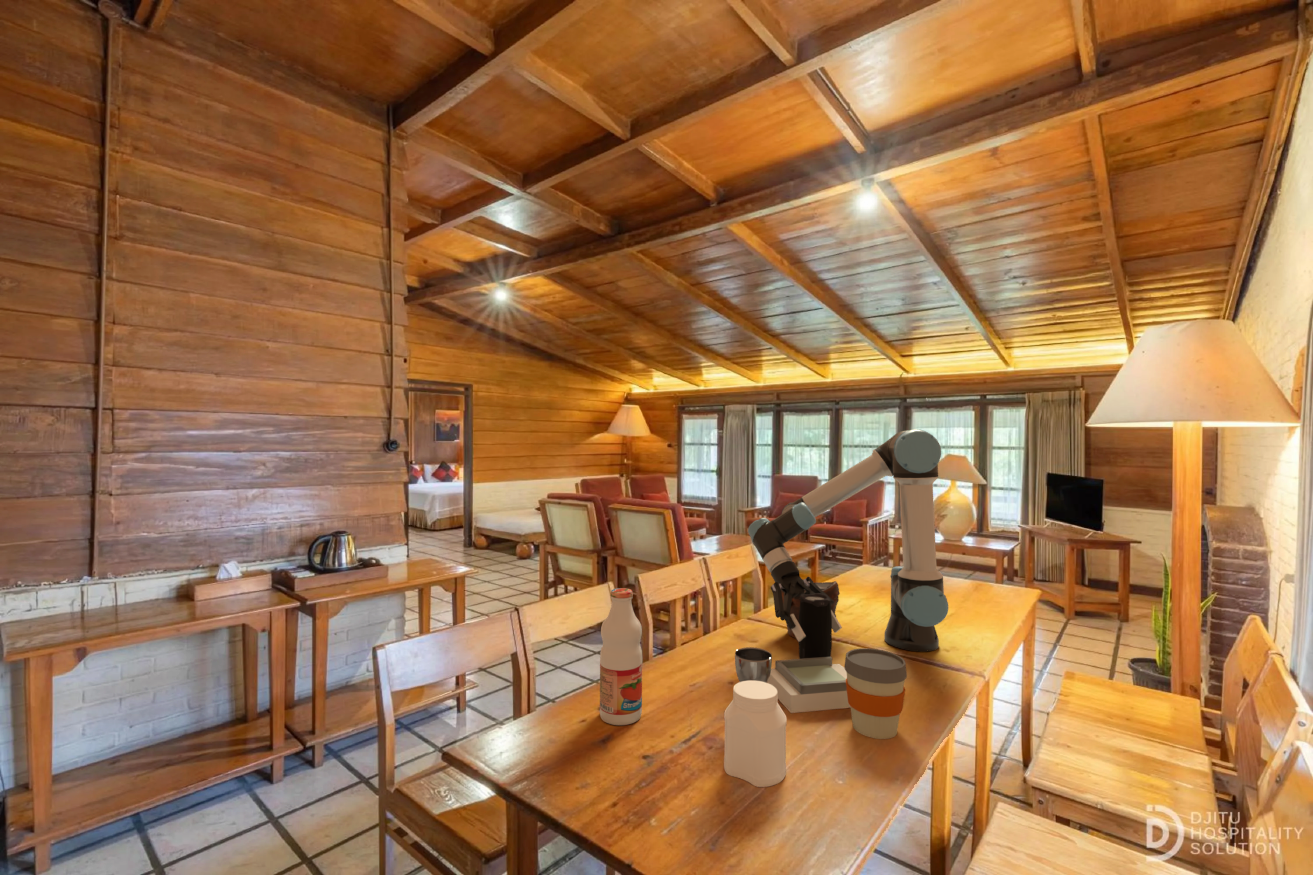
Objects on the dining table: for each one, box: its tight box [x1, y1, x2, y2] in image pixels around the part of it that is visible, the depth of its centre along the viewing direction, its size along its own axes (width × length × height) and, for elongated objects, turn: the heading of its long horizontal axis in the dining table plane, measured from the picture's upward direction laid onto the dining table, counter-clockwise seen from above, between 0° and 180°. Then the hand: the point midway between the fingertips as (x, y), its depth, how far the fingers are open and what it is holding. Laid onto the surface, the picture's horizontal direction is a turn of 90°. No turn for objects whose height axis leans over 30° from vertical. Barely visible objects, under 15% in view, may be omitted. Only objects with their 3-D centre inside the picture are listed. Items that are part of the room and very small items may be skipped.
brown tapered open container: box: [781, 580, 841, 640], centre depth 184 cm, size 18×20×18 cm
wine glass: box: [734, 646, 773, 683], centre depth 127 cm, size 8×8×15 cm
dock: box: [767, 656, 851, 714], centre depth 141 cm, size 25×15×6 cm, turn 101°
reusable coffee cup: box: [843, 648, 908, 740], centre depth 125 cm, size 12×13×15 cm
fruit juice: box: [599, 587, 643, 726], centre depth 130 cm, size 9×9×28 cm
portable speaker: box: [798, 593, 833, 659], centre depth 157 cm, size 9×9×20 cm
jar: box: [723, 680, 788, 788], centre depth 109 cm, size 12×10×15 cm
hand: (820, 634), depth 155 cm, fingers open, 13 cm apart
